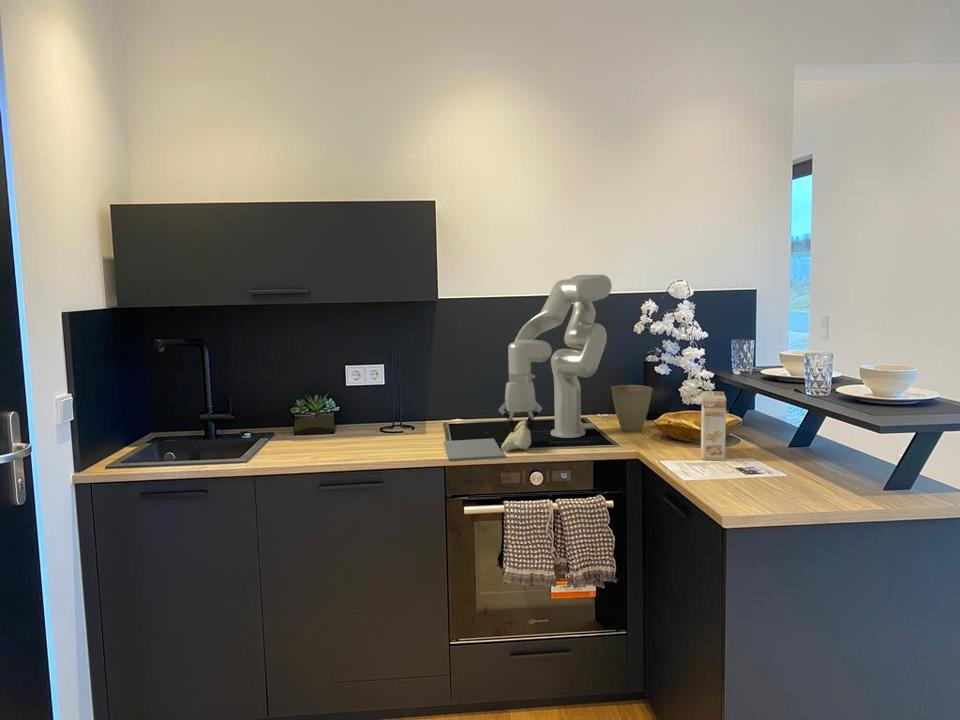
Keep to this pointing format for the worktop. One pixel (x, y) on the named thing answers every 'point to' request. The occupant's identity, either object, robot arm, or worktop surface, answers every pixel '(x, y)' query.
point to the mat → (472, 449)
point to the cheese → (518, 438)
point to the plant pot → (631, 405)
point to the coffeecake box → (713, 425)
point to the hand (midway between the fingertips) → (520, 430)
